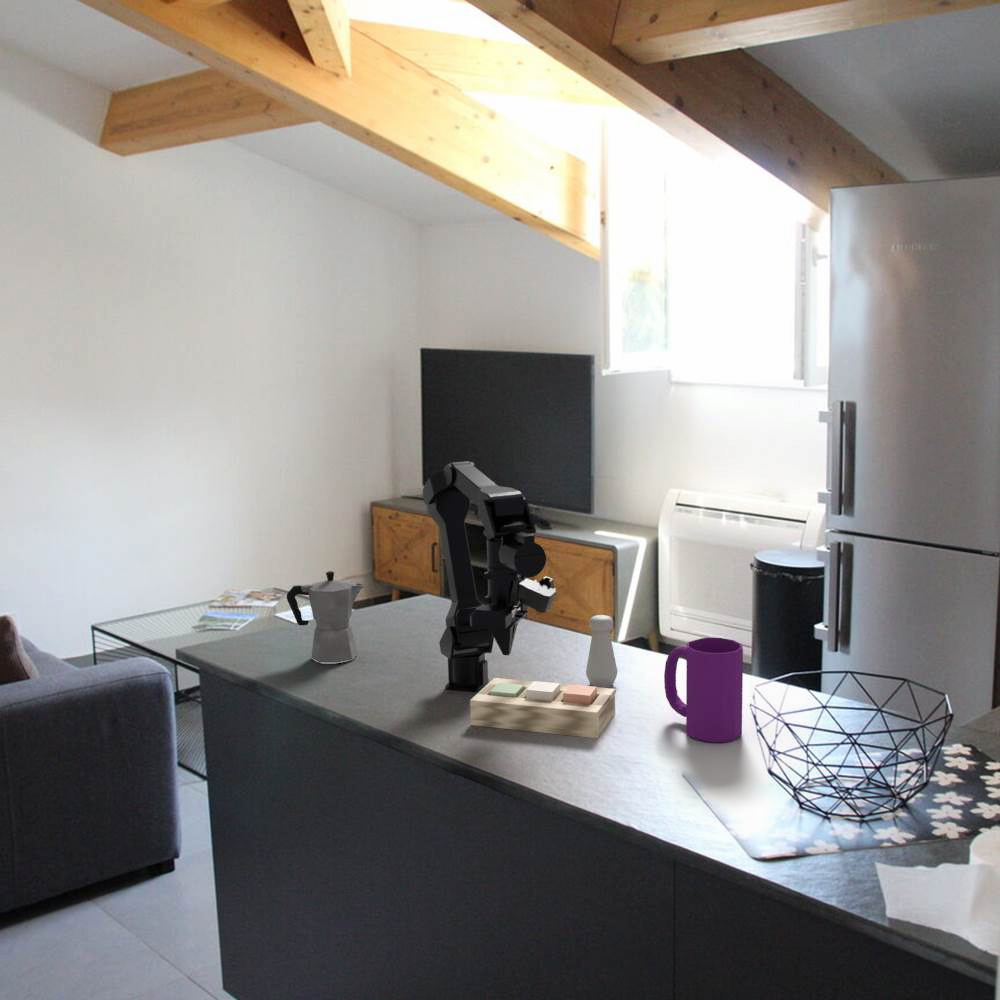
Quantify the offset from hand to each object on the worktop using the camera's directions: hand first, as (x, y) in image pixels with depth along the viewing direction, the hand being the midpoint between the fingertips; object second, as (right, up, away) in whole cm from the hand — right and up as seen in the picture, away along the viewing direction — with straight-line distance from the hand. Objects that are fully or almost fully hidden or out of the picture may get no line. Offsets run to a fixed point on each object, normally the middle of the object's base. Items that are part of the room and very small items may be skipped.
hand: (506, 654), depth 197 cm
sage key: (0, -9, +2) cm, 9 cm away
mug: (+32, -12, -6) cm, 34 cm away
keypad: (+6, -11, 0) cm, 13 cm away
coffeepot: (-36, -6, +37) cm, 51 cm away
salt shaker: (+18, -8, +17) cm, 26 cm away
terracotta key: (+12, -9, -3) cm, 15 cm away
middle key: (+6, -9, -1) cm, 11 cm away
